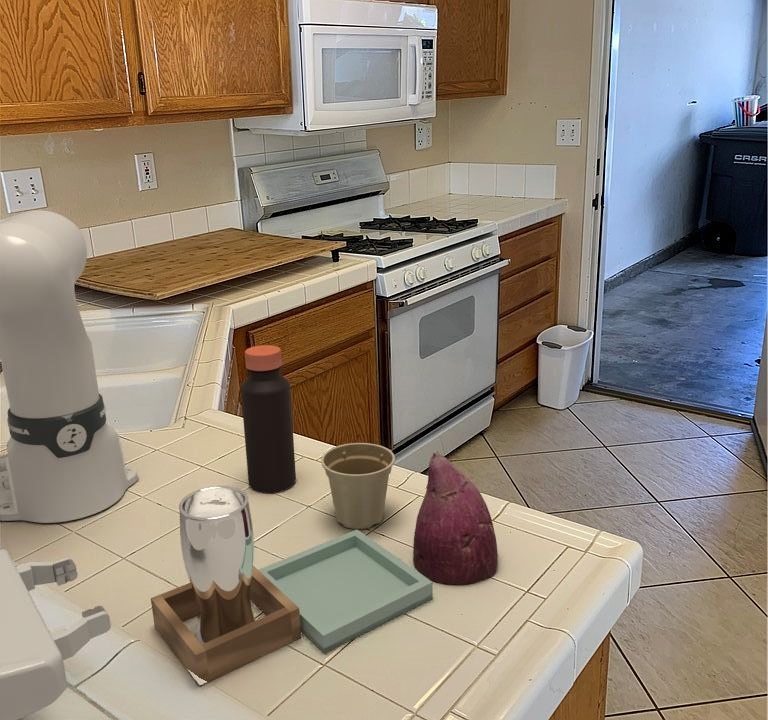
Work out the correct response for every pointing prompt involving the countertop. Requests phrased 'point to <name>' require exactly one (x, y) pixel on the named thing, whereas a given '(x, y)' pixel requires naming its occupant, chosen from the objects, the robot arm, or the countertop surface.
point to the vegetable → (453, 529)
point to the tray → (347, 588)
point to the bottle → (267, 421)
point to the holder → (234, 645)
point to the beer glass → (218, 558)
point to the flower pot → (358, 482)
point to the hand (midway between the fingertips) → (90, 590)
